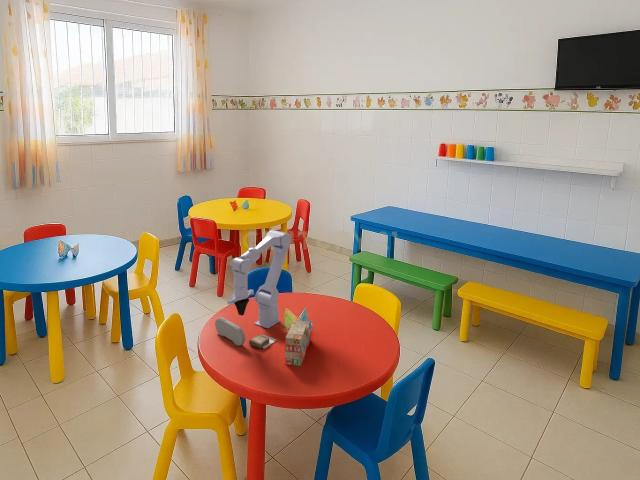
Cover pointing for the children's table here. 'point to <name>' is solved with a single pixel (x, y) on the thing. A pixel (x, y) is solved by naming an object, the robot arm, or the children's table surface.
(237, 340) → the game controller
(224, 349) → the children's table surface
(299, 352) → the stack of blocks
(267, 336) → the mat
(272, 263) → the robot arm
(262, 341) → the walnut tile
